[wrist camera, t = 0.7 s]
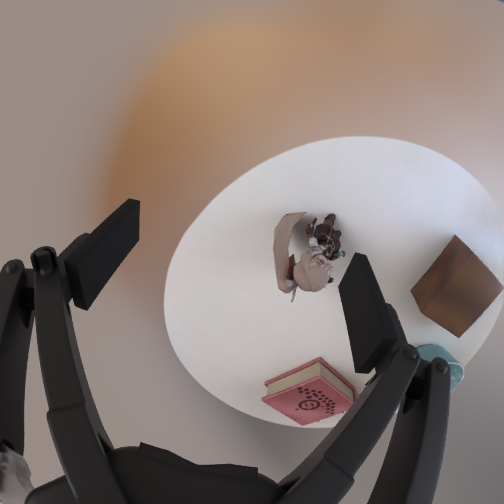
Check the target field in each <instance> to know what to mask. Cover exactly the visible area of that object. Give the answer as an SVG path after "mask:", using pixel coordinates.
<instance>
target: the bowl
mask: <svg viewBox="0 0 504 504" xmlns="http://www.w3.org/2000/svg"><path fill="white" fill-rule="evenodd" d="M416 349H417V350H418V352H419V354H420V357H421V358H422V359H424V360H427V361H429V362H431V361H432V360H433V359H434V358H435V357H441V358H443V359H444V360H446V361H447V362H448V364H449V366H450V369H451V386H450V393H451V392H453V391H454V389H456V387H457V386H458V385H459V384H460V382H461V380H462V379H463V376H464V367H463V366H462V365H461V364H460V363H459V362H458V361H457V360H456V359H455V358H454V357H453V356H452V355H451V354H449V353H448V352H447V351H446V350H445V349H443V348H442V347H441V346H438V345H424V346H421V347H418V348H416ZM399 406H400V404H399ZM399 406H398V409H399Z"/></svg>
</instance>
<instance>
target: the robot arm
mask: <svg viewBox="0 0 504 504" xmlns="http://www.w3.org/2000/svg"><path fill="white" fill-rule="evenodd" d="M499 1H501V2H503V3H504V0H499ZM139 215H140V201H138V200H134V199H128V200H127V201H125V202H124V203H123V204H122V205H121V206H120V207H119V208H118V209H116V210H115V211H114V212H113V213H112V214H111V215H110V216H109V217H108V218H107V219H105V220H104V221H103V222H102V223H101V224H100V225H99V226H98V227H97V228H96V229H95V230H94V231H93V232H92V233H91V234H89V233H84V234H82V235H80V236H78V237H77V238H76V239H75V240H74V241H73V242H72V243H71V244H70V245H69V246H68V248H66V249H65V250H64V251H63V252H62V253H61V254H60V255H59V256H58V257H57V256H56V251H55V249H54V248H52V247H49V246H44V247H40V248H38V249H36V250H35V251H34V252H33V253H32V254H31V257H30V258H31V262H32V266H33V269H26V268H25V267H24V264H23V262H22V261H21V260H18V259H15V260H11V261H9V262H7V263H6V264H5V265H4V266H3V268H2V270H1V272H0V501H1V502H3V503H4V504H338V503H339V501H340V500H341V499H342V498H343V497H344V496H345V494H346V493H347V492H348V491H349V489H350V488H351V486H352V485H353V483H354V478H353V477H354V475H355V473H356V472H357V470H358V469H359V468H360V466H361V465H362V463H363V462H364V461H365V459H366V458H367V456H368V455H369V453H370V452H371V450H372V449H373V447H374V446H375V444H376V443H377V441H378V440H379V438H380V437H381V435H382V433H383V431H384V430H385V428H386V427H387V425H388V423H389V422H390V420H391V418H392V417H393V415H394V413H395V411H396V409H397V408H398V406H399V404H400V406H399V410H398V414H397V419H396V422H395V426H394V429H393V433H392V437H391V440H390V443H389V447H388V450H387V453H386V456H385V459H384V462H383V465H382V468H381V470H380V473H379V476H378V479H377V481H376V484H375V486H374V489H373V491H372V493H371V496H370V498H369V501H368V503H367V504H432V501H433V498H434V494H435V490H436V486H437V482H438V478H439V473H440V469H441V464H442V459H443V454H444V448H445V441H446V434H447V425H448V416H449V404H450V386H451V369H450V366H449V364H448V362H447V361H446V360H444V359H443V358H441V357H435V358H434V359H433V360H432V361H431V362H429V361H427V360H424V359H422V358H421V357H420V354H419V352H418V350H417V349H416V348H415V347H414V346H412V345H410V344H408V343H407V340H406V337H405V334H404V331H403V329H402V326H401V323H400V321H399V320H398V315H397V313H396V311H395V309H394V308H393V307H392V305H391V304H388V303H385V300H384V297H383V295H382V292H381V290H380V287H379V285H378V282H377V280H376V277H375V275H374V272H373V270H372V268H371V265H370V263H369V261H368V258H367V256H366V255H364V254H360V253H356V252H355V254H354V256H353V258H352V260H351V262H350V264H349V266H348V268H347V270H346V272H345V274H344V276H343V278H342V280H341V282H340V284H339V286H338V288H339V293H340V297H341V302H342V306H343V311H344V315H345V320H346V325H347V330H348V335H349V340H350V345H351V351H352V356H353V362H354V368H355V373H364V374H369V373H370V372H371V370H372V369H373V368H374V367H375V370H376V374H375V375H374V376H373V377H372V378H371V379H370V380H369V381H368V382H367V383H366V384H365V385H366V387H365V388H364V390H363V391H362V393H361V394H360V395H359V397H358V398H357V399H356V401H355V402H354V403H353V405H352V406H351V407H350V408H349V410H348V411H347V412H346V413H345V415H344V416H343V417H342V418H341V420H340V421H339V422H338V423H337V425H336V426H335V427H334V428H333V429H332V430H331V432H330V433H329V434H328V435H327V436H326V437H325V438H324V440H323V441H322V442H321V443H320V444H319V445H318V446H317V447H316V448H315V450H314V451H313V452H312V453H311V454H310V455H309V456H308V457H307V458H306V459H305V460H304V461H303V462H302V463H301V464H300V465H299V466H298V467H297V468H296V469H295V470H294V471H293V472H291V473H290V474H289V475H287V476H286V477H285V478H284V479H282V480H281V481H280V482H279V483H278V484H277V483H276V482H275V481H273V480H271V479H270V478H268V477H267V476H265V475H262V474H260V473H257V472H258V468H257V467H248V466H241V465H234V464H215V465H197V464H194V463H192V462H190V461H188V460H186V459H184V458H182V457H180V456H178V455H176V454H174V453H172V452H170V451H168V450H165V449H161V448H158V447H154V446H151V445H148V444H145V443H142V442H141V443H140V446H139V447H136V446H128V447H121V448H117V449H114V447H113V445H112V443H111V441H110V439H109V437H108V435H107V433H106V431H105V429H104V427H103V425H102V422H101V419H100V417H99V414H98V412H97V409H96V406H95V403H94V400H93V397H92V395H91V391H90V388H89V385H88V382H87V378H86V375H85V372H84V368H83V365H82V361H81V357H80V353H79V349H78V345H77V341H76V336H75V332H74V327H73V322H72V316H71V311H70V306H69V302H70V300H71V299H72V298H73V301H74V305H75V306H76V307H79V308H81V309H84V310H86V311H87V310H88V309H89V307H90V306H91V305H92V303H93V301H94V300H95V299H96V297H97V296H98V294H99V293H100V291H101V290H102V288H103V287H104V286H105V284H106V283H107V282H108V280H109V279H110V278H111V276H112V275H113V273H114V272H115V271H116V269H117V268H118V267H119V265H120V264H121V263H122V261H123V260H124V259H125V257H126V256H127V254H129V252H130V251H131V250H132V248H133V247H134V246H135V245H136V243H137V242H138V241H139ZM34 318H35V320H36V333H37V344H38V351H39V359H40V366H41V372H42V377H43V383H44V388H45V393H46V397H47V402H48V406H49V411H48V412H47V421H48V425H49V428H50V432H51V436H52V439H53V442H54V445H55V448H56V451H57V454H58V457H59V460H60V463H61V465H62V468H63V471H64V473H65V475H63V476H61V477H59V478H57V479H55V480H53V481H51V482H48V483H46V484H44V485H42V486H40V487H37V488H35V489H34V488H33V486H32V484H31V482H30V477H31V472H30V469H29V467H28V464H27V462H26V461H25V459H24V458H23V451H24V398H25V382H26V381H25V380H26V370H27V361H28V353H29V346H30V340H31V334H32V328H33V322H34Z"/></svg>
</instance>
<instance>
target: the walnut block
mask: <svg viewBox="0 0 504 504" xmlns="http://www.w3.org/2000/svg"><path fill="white" fill-rule="evenodd" d="M503 288H504V287H503V285H502V284H501V283H500V282H499V281H498V279H497V278H496V277H495V276H494V275H493V274H492V272H491V271H490V270H489V269H488V268H487V267H486V266H485V265H484V263H483V262H482V261H481V260H480V259H479V258H478V257H477V256H476V255H475V254H474V253H473V252H472V251H471V250H470V249H469V248H468V247H467V246H466V245H465V244H464V243H463V242H462V241H461V240H460V239H459V238H458V237H457V236H456V235H455V236H454V237H453V239H452V240H451V241H450V243H449V244H448V245H447V247H446V248H445V249H444V251H443V252H442V253H441V255H440V256H439V257H438V258H437V260H436V261H435V262H434V263H433V265H432V266H431V267H430V268H429V269H428V271H427V272H426V273H425V274H424V275H423V277H422V278H421V279H420V280H419V281H418V282H417V284H416V285H415V286H414V287H413V288H412V289H411V293H412V295H413V297H414V299H415V301H416V303H417V305H418V307H419V309H420V311H421V313H422V314H424V315H425V316H427V317H428V318H430V319H431V320H433V321H434V322H436V323H437V324H439V325H440V326H442V327H443V328H445V329H446V330H448V331H449V332H451V333H452V334H454V335H455V336H457V337H458V338H459V337H460V336H461V335H462V334H463V333H464V332H465V331H466V330H467V329H468V328H469V327H470V326H471V325H472V324H473V323H474V322H475V321H476V320H477V319H478V318H479V317H480V316H481V314H482V313H483V312H484V311H485V310H486V309H487V308H488V307H489V305H490V304H491V303H492V302H493V301H494V300H495V298H496V297H497V296H498V295H499V293H500V292H501V291H502V290H503Z"/></svg>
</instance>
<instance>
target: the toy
mask: <svg viewBox="0 0 504 504" xmlns="http://www.w3.org/2000/svg"><path fill="white" fill-rule="evenodd" d="M305 213H306V212H302V213H293V214H286V215H285V216H283V217H282V219H281V220H280V222H279V223H278V225H277V226H276V228H275V235H274V247H273V249H274V259H275V269H276V277H277V282H278V288H279V289H280V290H281V291H283V292H284V293H290V292H291V291H292V290H293V296H292V300H291V302H293V300H294V297H295V292H296V287H297V286H298V287H299V288H300V289H302V290H304V291H312V292H317V291H319V290H321V289H322V288H325V287H326V285H327V283H332V282H333V280H334V279H333V278H331V277H330V274H331V269H330V268H332V266H331V264H329V261H328V260H330V261H333V260H336V259H338V257H340V256H343V257H344V256H345V251H342V252H338V251H339V249H340V247H341V245H340V242H339V238H340V236H341V232H340V230H338V231H334V230H333V225H334V219H335V215H334V214H329V215H328V216H327V217H326V218H325V221H324V222H323V224H319V225H318V226H316V229H315V231H314V224H315V223H316V221H317V218H315V219H314V220H313V221H312V225H310V224H308V225H307V226H306V228H305V231H306V234H307V236H308V238H309V244H310V245H311V249H312V250H310V251H309V248H310V247H309V248H308V249H306V250H305V253H304V254H302V257H301V261H299V262H298V263H296V264H295V259H294V254H293V255H292V256H291V257H289V253H288V246H289V242H290V237H291V232H292V227H293V226H294V225H295V224H296V222H297V221H298V220H299V219H300V218H301V217H302V216H303V215H304V214H305ZM313 231H314V234H313ZM316 237H317V239H316Z"/></svg>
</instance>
